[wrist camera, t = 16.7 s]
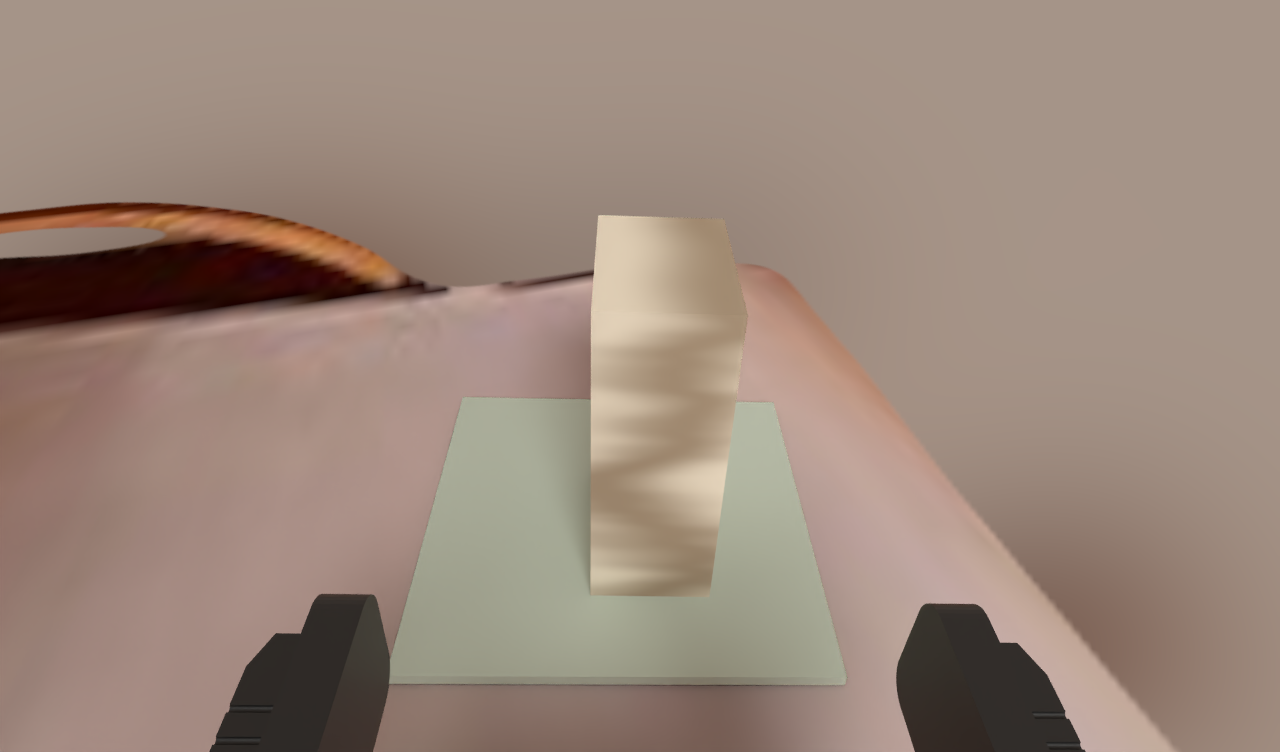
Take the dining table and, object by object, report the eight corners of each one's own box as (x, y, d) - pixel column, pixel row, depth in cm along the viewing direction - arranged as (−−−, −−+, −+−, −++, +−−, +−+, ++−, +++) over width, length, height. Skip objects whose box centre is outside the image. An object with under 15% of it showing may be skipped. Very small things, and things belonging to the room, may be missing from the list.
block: (590, 595, 26) (591, 311, 20) (596, 473, 31) (598, 215, 25) (709, 597, 26) (747, 315, 20) (696, 475, 31) (724, 219, 25)
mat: (387, 683, 23) (385, 675, 23) (463, 404, 35) (462, 397, 35) (844, 685, 24) (847, 677, 24) (772, 409, 35) (773, 402, 35)
